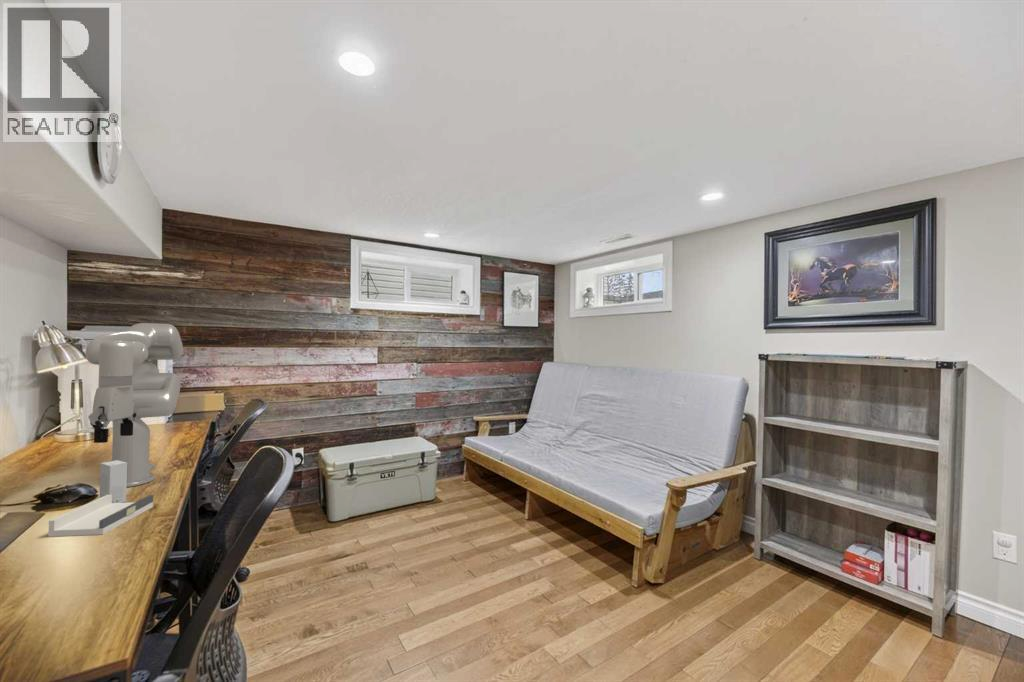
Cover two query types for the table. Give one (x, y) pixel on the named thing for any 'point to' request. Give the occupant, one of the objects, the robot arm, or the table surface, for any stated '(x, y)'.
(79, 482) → the table surface
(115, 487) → the skincare box
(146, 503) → the price rail
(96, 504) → the display shelf
